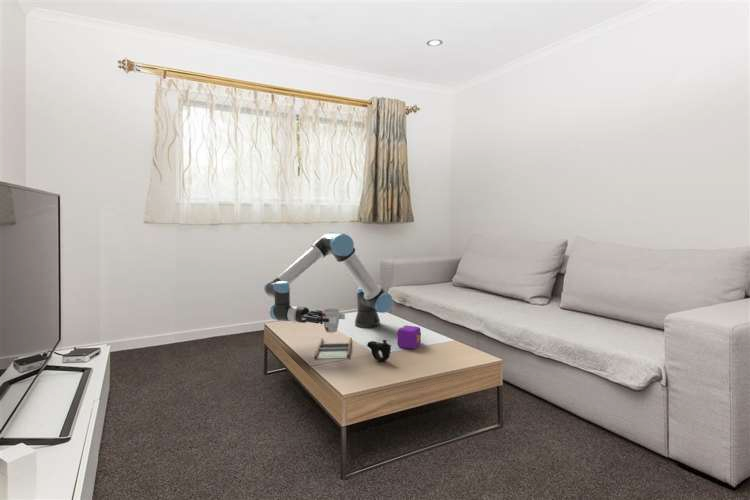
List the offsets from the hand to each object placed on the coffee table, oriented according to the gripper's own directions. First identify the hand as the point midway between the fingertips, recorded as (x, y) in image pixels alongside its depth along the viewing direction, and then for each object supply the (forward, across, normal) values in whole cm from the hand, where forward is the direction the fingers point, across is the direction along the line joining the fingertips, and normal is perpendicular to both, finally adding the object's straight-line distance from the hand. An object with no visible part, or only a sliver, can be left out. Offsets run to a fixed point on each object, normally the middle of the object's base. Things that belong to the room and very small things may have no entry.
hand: (340, 318), depth 195 cm
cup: (-5, 0, -7) cm, 8 cm away
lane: (-8, -8, -18) cm, 21 cm away
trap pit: (-8, -8, -18) cm, 21 cm away
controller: (+19, -1, -18) cm, 27 cm away
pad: (-5, 0, -18) cm, 19 cm away
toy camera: (+25, -27, -18) cm, 41 cm away
